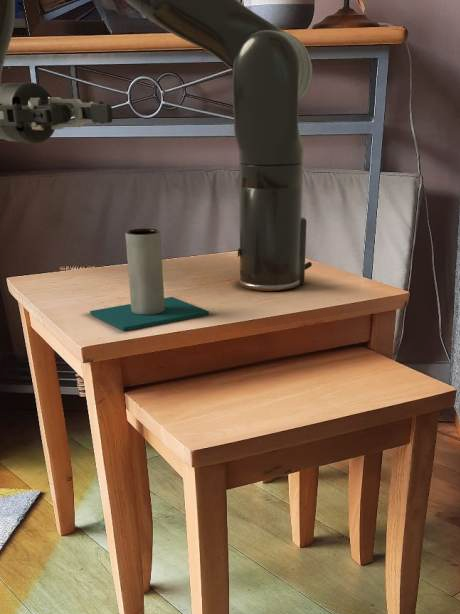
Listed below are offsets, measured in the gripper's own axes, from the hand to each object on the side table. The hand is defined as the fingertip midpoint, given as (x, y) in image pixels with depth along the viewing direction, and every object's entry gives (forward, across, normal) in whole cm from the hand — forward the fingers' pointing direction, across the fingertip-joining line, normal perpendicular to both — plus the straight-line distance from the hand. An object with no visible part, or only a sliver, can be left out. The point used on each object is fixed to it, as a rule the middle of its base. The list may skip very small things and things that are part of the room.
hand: (83, 114), depth 97 cm
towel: (+11, 0, +24) cm, 26 cm away
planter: (+11, 0, +24) cm, 26 cm away
